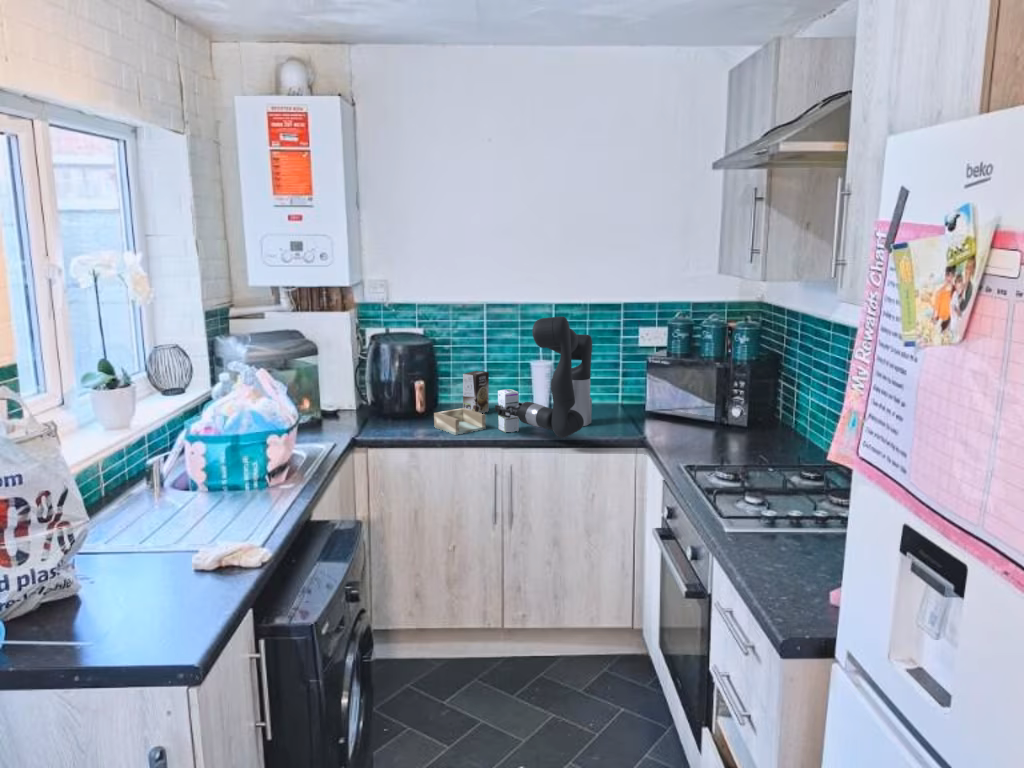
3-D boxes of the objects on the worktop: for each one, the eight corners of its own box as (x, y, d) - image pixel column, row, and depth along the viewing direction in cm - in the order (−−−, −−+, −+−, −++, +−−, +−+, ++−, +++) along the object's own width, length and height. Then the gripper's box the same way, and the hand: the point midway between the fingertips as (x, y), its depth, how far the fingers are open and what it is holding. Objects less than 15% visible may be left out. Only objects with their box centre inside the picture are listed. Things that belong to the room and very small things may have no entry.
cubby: (463, 422, 284) (463, 407, 283) (485, 429, 274) (485, 414, 273) (434, 427, 276) (434, 412, 275) (455, 435, 266) (455, 419, 265)
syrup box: (519, 431, 272) (519, 391, 269) (504, 433, 269) (504, 393, 266) (511, 427, 276) (512, 388, 274) (497, 429, 274) (497, 390, 271)
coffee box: (475, 416, 294) (475, 375, 290) (462, 414, 297) (462, 373, 294) (489, 411, 301) (489, 371, 298) (476, 409, 305) (475, 370, 301)
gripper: (550, 401, 264) (520, 393, 276) (518, 406, 255) (489, 398, 267) (550, 422, 265) (520, 413, 278) (518, 428, 256) (489, 419, 269)
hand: (505, 406), depth 272 cm, fingers open, 8 cm apart
